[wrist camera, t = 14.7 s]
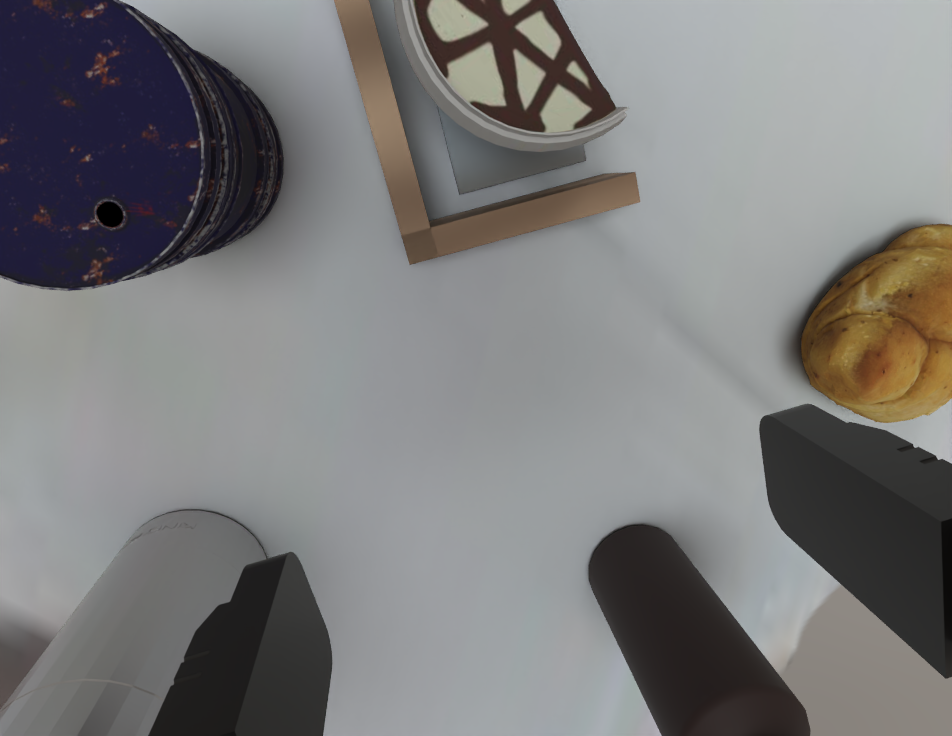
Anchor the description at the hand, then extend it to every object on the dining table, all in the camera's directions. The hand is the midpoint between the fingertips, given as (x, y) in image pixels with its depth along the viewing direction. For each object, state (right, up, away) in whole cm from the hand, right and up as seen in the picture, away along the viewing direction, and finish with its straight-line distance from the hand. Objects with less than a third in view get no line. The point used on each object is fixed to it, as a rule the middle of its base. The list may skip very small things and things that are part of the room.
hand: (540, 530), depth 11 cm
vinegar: (+10, -11, +34) cm, 37 cm away
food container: (-2, +19, +24) cm, 30 cm away
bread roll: (+25, +6, +31) cm, 40 cm away
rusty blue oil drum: (-16, +14, +24) cm, 32 cm away
